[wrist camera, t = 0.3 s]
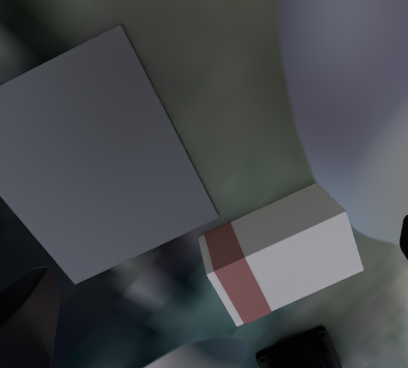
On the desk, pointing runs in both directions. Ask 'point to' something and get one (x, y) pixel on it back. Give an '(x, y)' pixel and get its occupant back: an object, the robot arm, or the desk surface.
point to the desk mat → (96, 159)
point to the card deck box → (280, 253)
